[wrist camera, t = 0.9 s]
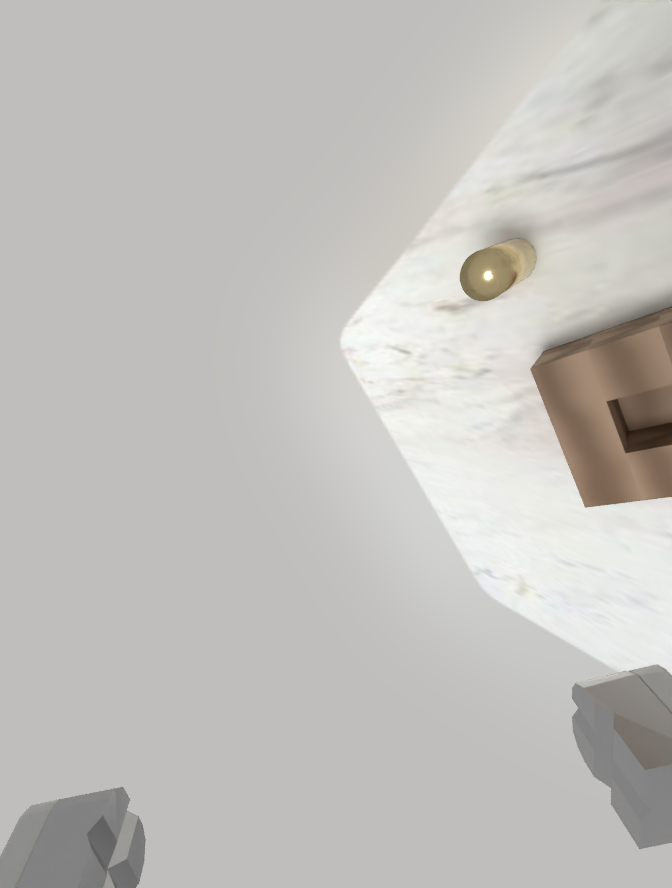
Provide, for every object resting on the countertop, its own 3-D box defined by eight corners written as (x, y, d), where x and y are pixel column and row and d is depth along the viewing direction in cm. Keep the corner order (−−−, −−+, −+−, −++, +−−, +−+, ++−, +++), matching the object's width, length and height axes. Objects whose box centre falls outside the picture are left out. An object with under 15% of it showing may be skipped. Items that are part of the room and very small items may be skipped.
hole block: (731, 286, 37) (739, 299, 33) (780, 448, 40) (793, 481, 36) (543, 351, 47) (530, 369, 43) (592, 478, 50) (585, 507, 46)
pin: (527, 230, 44) (497, 240, 36) (542, 270, 44) (516, 288, 37) (487, 251, 46) (452, 264, 39) (502, 289, 47) (470, 308, 40)
